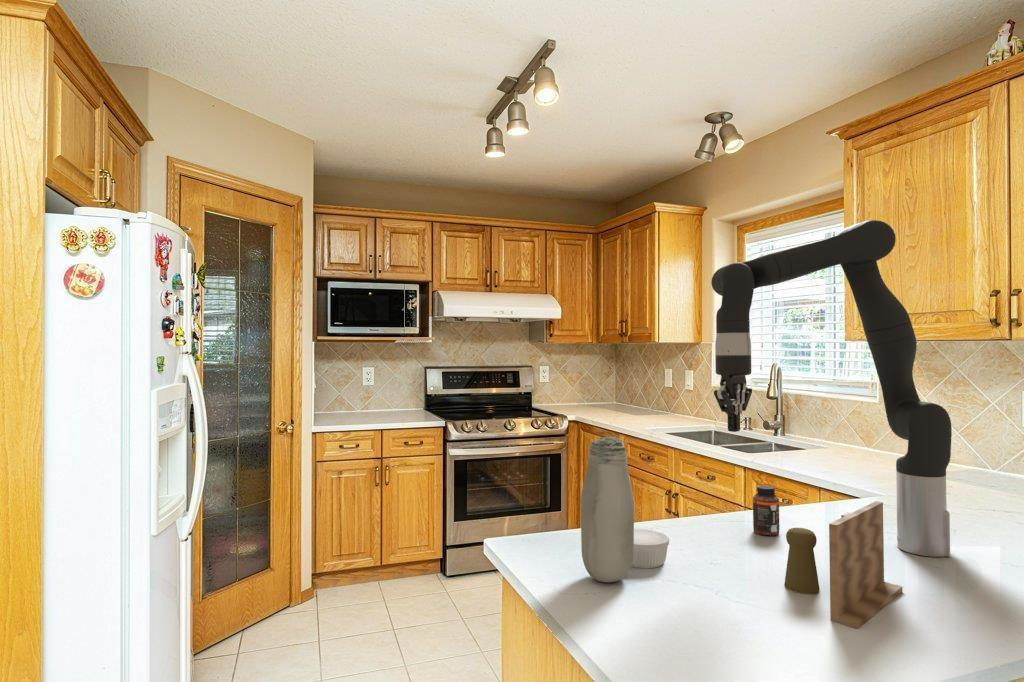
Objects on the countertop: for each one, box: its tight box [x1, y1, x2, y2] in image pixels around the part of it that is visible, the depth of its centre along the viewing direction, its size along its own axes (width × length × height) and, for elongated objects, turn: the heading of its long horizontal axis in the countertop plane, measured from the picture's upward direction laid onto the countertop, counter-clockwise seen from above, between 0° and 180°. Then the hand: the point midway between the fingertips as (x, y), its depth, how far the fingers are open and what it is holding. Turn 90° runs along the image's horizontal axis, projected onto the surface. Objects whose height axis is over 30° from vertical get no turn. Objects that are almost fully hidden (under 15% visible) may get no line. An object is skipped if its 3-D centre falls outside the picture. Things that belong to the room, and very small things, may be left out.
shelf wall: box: [828, 500, 903, 630], centre depth 104 cm, size 22×4×16 cm, turn 131°
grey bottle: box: [580, 436, 635, 584], centre depth 117 cm, size 10×10×28 cm
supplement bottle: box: [752, 485, 780, 537], centre depth 145 cm, size 6×6×11 cm
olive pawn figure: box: [784, 527, 821, 595], centre depth 112 cm, size 6×6×11 cm
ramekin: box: [631, 528, 670, 569], centre depth 127 cm, size 11×11×5 cm
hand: (734, 431), depth 132 cm, fingers closed
